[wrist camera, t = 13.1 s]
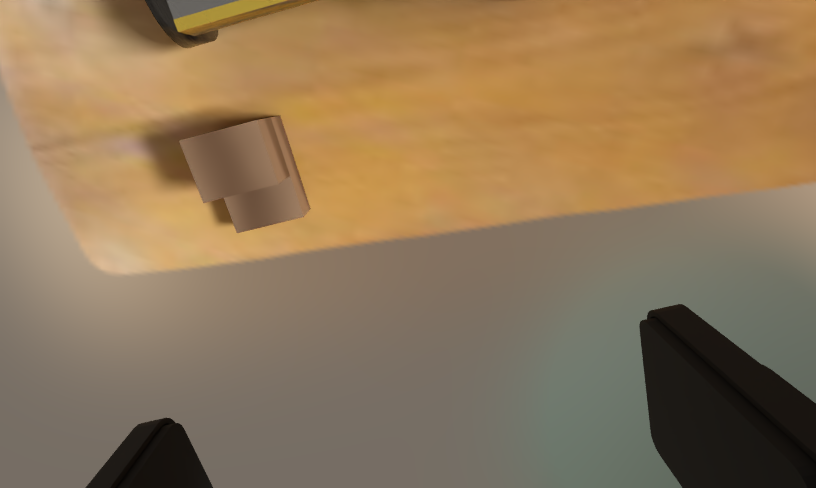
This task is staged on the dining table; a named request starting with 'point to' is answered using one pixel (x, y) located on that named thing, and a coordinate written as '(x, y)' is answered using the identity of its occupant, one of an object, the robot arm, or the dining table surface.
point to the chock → (248, 173)
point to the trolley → (210, 16)
